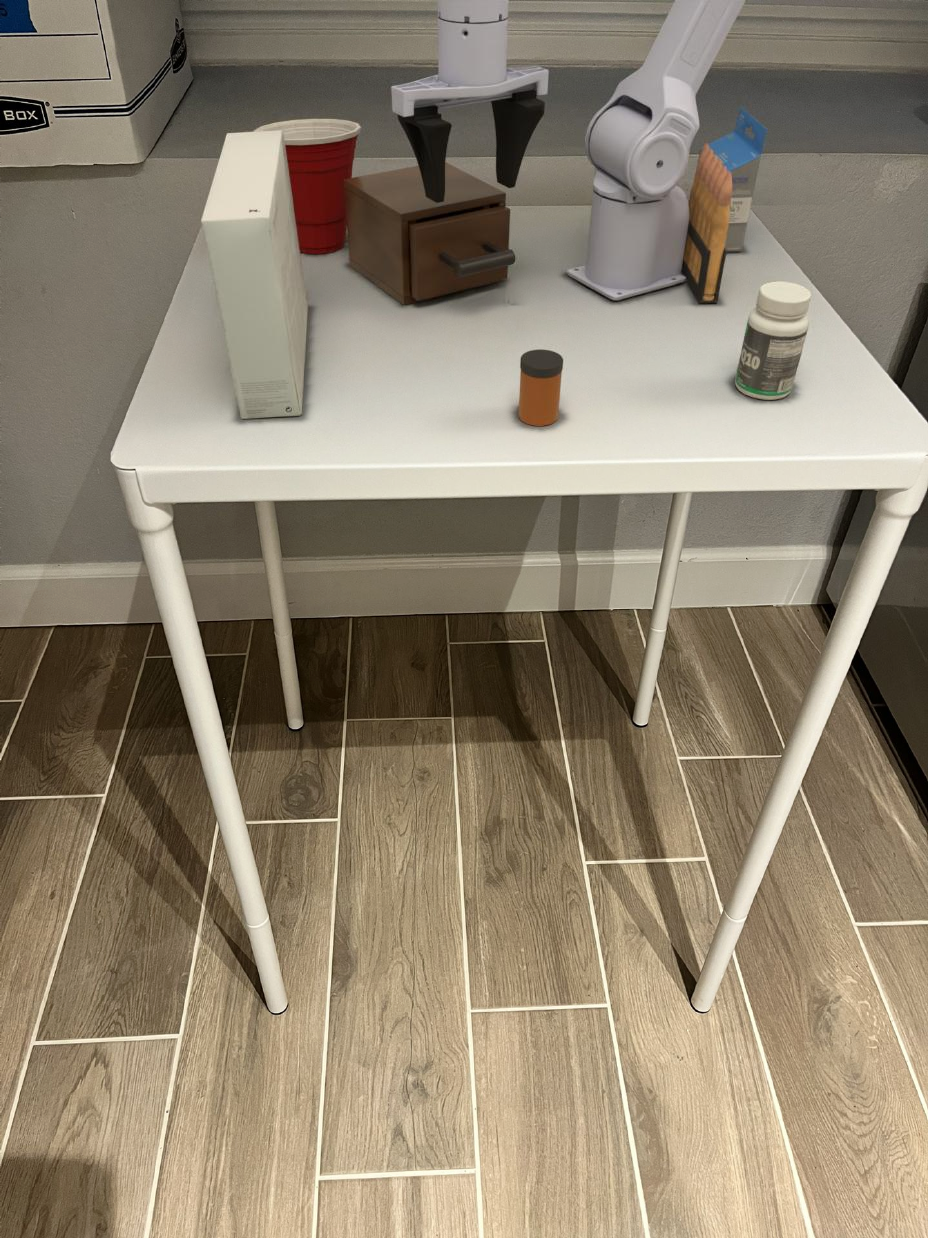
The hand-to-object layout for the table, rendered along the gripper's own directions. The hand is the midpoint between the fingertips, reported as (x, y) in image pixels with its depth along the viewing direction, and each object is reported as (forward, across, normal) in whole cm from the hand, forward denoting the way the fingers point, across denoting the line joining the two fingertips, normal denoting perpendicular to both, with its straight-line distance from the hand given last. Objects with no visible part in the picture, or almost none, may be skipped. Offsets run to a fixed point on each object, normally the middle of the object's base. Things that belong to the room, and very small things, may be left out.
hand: (471, 191), depth 87 cm
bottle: (+10, +7, +21) cm, 25 cm away
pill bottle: (+11, -12, +27) cm, 32 cm away
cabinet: (+10, 0, -9) cm, 13 cm away
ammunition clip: (+11, -22, +8) cm, 26 cm away
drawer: (+9, 0, -4) cm, 10 cm away
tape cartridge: (+11, -33, 0) cm, 34 cm away
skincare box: (+11, +21, +1) cm, 24 cm away
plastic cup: (+11, +6, -22) cm, 25 cm away
